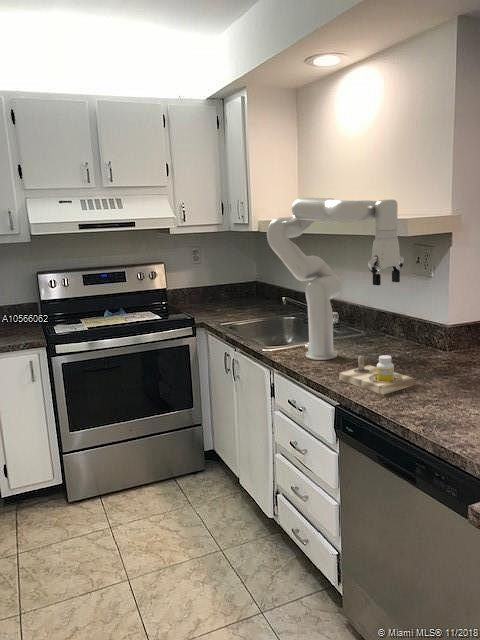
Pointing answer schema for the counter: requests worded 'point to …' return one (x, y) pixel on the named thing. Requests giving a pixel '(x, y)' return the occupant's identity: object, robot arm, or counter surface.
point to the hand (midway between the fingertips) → (386, 283)
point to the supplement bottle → (385, 369)
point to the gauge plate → (374, 379)
